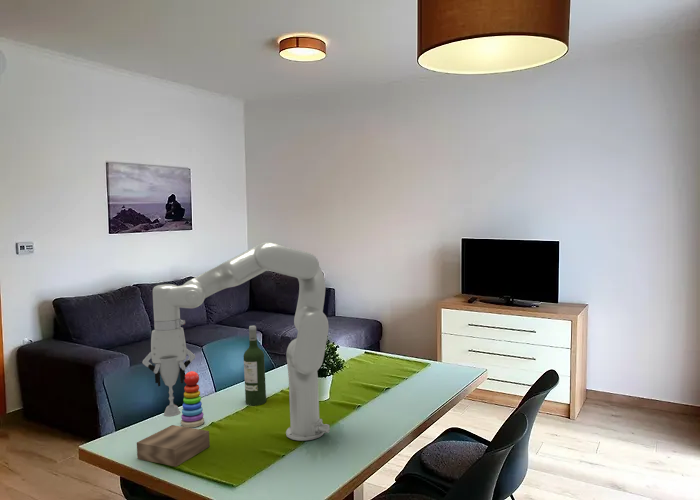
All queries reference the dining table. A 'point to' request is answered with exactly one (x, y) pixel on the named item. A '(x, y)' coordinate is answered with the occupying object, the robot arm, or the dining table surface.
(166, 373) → the chalice
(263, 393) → the wine bottle
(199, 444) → the plinth
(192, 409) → the stacking toy
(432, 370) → the dining table surface
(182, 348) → the robot arm
